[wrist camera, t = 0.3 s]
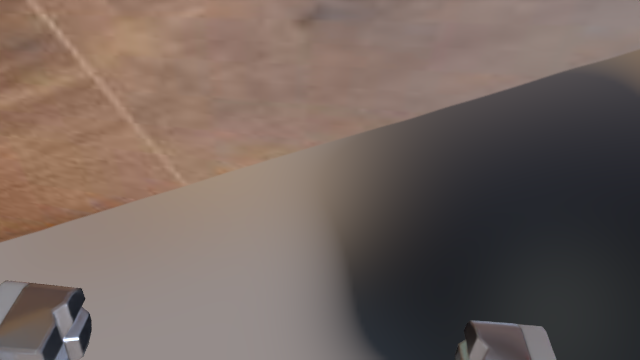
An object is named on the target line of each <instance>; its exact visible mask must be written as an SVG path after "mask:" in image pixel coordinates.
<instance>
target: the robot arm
mask: <svg viewBox="0 0 640 360" xmlns="http://www.w3.org/2000/svg"><path fill="white" fill-rule="evenodd" d="M84 301H85V297H84V294H83V291H82V289H81V288H72V287H63V286H54V285H45V284H36V283H26V282H16V281H4V282H3V283H2V284H0V360H79V359H81V358H82V357H83V356H84V354H85V351H86V349H87V347H88V344H89V339H90V335H91V317H90V314H89V312H88V311H87V310H85V309H84V308H83V307H82V305H83V302H84ZM464 334H465V339H466V340H464V341H463V342H461V343H459V345H458V347H457V350H456V353H455V360H556V358H555V355H554V352H553V349H552V347H551V344H550V341H549V338H548V336H547V333H546V331H545V330H544V329H543V327H540V326H530V325H516V324H511V323H498V322H484V321H469V322H468V323H467V325H466V327H465V330H464Z"/></svg>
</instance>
